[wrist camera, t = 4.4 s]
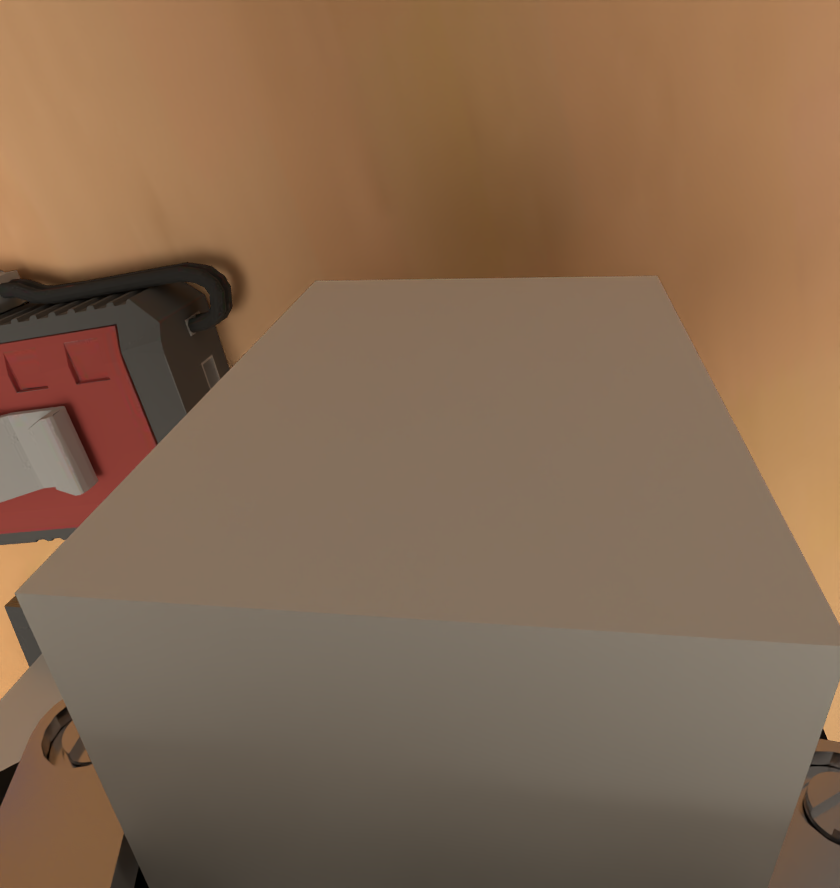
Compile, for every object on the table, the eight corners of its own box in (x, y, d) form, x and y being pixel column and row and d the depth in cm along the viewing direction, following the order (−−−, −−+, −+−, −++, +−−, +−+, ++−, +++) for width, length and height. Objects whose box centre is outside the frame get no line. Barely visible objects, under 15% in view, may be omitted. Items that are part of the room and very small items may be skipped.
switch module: (315, 280, 10) (-110, 722, 4) (657, 275, 10) (944, 829, 3) (368, 676, 15) (219, 1228, 8) (609, 696, 14) (678, 1327, 7)
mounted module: (46, 648, 24) (-160, 879, 17) (178, 659, 23) (20, 907, 16) (107, 805, 28) (-40, 1046, 21) (223, 819, 27) (110, 1076, 20)
